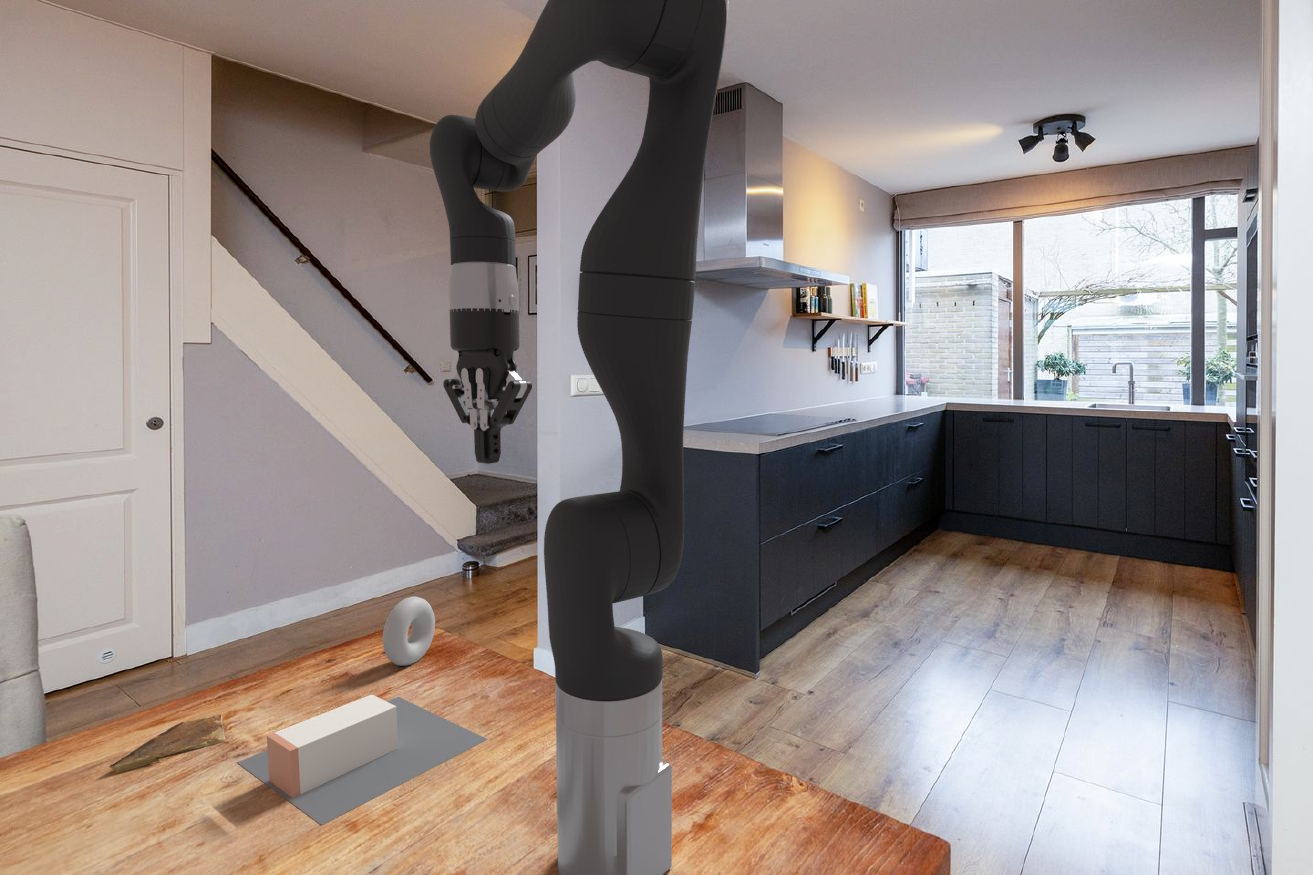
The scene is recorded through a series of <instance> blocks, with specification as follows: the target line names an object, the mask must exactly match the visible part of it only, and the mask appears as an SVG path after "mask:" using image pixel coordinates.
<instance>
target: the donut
mask: <svg viewBox="0 0 1313 875" xmlns="http://www.w3.org/2000/svg"><path fill="white" fill-rule="evenodd" d="M435 617H436V616H435V614H434V611H433V608H432V606H431V604H430V603H429V602H428V601H427V600H426V599H424V598H422V597H419V596H415V595H414V596H410V597H406V598H403V599H402V600H401V601H399V602H398V603H396V605H395V606H394V607H393V608H392V610H391V611H390V612H389V614H388V616H387V618H386V621H385V623H384V627H383V631H382V632H383V633H382V645H383V651H384V653H385V655H386V657H387V659H388V660H389V661H391V663H393V664H394V665H396V666H401V667H406V666H411V665H413V664H415V663H416V662H418V661H420V660H421V659H423V656H425V655H426V653H427V652H428V650H429V648H430V646H431V644H432V641H433V639H434V636H435V635H434V634H435V627H436V618H435ZM410 627H411V631H410V630H409V629H410ZM409 631H410V634H408V632H409ZM408 635H409V636H408Z"/></svg>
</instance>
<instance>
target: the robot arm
mask: <svg viewBox="0 0 1313 875" xmlns="http://www.w3.org/2000/svg"><path fill="white" fill-rule="evenodd" d="M728 20H729V0H547V2H546V3H545V6H544V8H543V10H542V11H541V13H540V15H539V18H538V19H537V21H536V23H535V26H534V27H533V30H532V32H531V34H530V36H529V37H528V40H527V42H526V44H525V45H524V47H523V49H522V51H521V53H520V54H519V56H518V57H517V59H516V61H515V62H514V64H513V65H512V67H511V68H510V69H509V70H508V71H507V73H506V74H505V75H504V76H503V77H502V78H501V79H500V80H499V81H498V82H497V83H496V85H495V86H494V87H493V88H492V89H491V90H490V91H489V92H488V93H487V95H486V96H485V97H484V98H483V99H482V101H481V102H480V104H479V106H478V107H477V109H476V113H475V118H473V117H469V116H465V115H458V114H448V115H445V116H443V117H441V118H440V119H439V120H438V121H437V122H436V123H435V125H434V127H433V129H432V132H431V136H430V140H429V154H430V155H429V157H430V161H431V165H432V168H433V172H434V175H435V179H436V182H437V185H438V188H439V190H440V195H441V198H442V202H443V205H444V208H445V214H446V217H447V223H448V228H449V229H448V230H449V243H450V245H449V250H450V253H449V254H450V272H449V273H450V274H449V280H448V281H449V282H448V299H449V302H448V303H449V307H448V308H449V335H450V336H449V339H450V342H449V343H450V348H451V349H452V350H453V351H456V352H458V357H457V362H456V367H455V368H456V369H455V370H456V373H455V375H454V376H453V377H452V378H450V379H449V378H445V379H444V380H443V388H444V390H445V392H446V394H447V396H448V398H449V401H450V402H451V404H452V406H453V408H454V410H455V412H456V414H457V416H458V418H459V420H460V421H461V423H462V424H467V425H469V426H470V428H471V429H472V430H473V438H474V441H473V442H474V444H473V445H474V455H475V461H476V462H477V463H478V464H486V465H488V464H489V465H490V464H497V463H498V462H499V461H500V458H501V456H502V455H501V454H502V449H501V448H502V446H501V440H502V439H501V431H502V429H503V428H504V427H506V426H507V425H509V426H510V425H513V424H514V423H515V420H516V419H517V418H518V416H519V413H520V411H521V410H522V408H523V406H524V404H525V402H526V401H527V399H528V396H529V395H530V393H531V391H532V388H533V384H532V382H531V380H524V379H522V377H520V375H519V374H518V373H517V368H518V367H517V363H516V361H515V357H514V352H516V351H518V350H519V349H520V346H521V344H520V343H521V342H520V305H519V303H520V302H519V300H520V299H519V298H520V297H519V295H520V294H519V283H518V277H517V276H518V275H517V267H516V266H517V265H516V264H517V262H516V261H517V260H516V258H517V256H516V254H517V253H516V229H515V227H516V226H515V222H514V220H513V218H512V217H511V216H510V215H509V214H507V213H505V212H503V211H501V210H499V209H495V208H493V207H492V206H489V205H487V204H485V203H484V202H482V201H481V199H480V197H479V196H478V194H477V192H476V190H475V189H480V190H487V191H491V192H492V191H494V192H503V193H504V192H505V193H506V192H511V191H512V192H513V191H516V190H517V189H520V188H521V187H523V185H524V184H525V183H526V181H527V180H528V176H529V174H530V172H531V169H532V166H533V164H534V162H535V161H536V158H537V155H538V154H539V153H541V152H542V151H543V150H544V149H545V148H547V147H548V146H549V145H550V144H552V143H553V142H554V141H555V140H556V139H558V138H559V137H560V136H561V135H562V134H563V132H564V131H565V130H566V129H567V128H568V126H569V124H570V122H571V120H572V118H573V115H574V112H575V108H576V103H577V102H576V99H577V91H576V90H577V89H576V88H577V87H576V81H575V73H574V72H575V71H577V70H578V69H580V68H581V67H583V66H585V65H586V64H589V63H592V62H600V63H602V64H604V65H606V66H608V67H611V68H614V69H617V70H622V71H624V72H625V71H626V72H629V73H632V74H635V75H639V76H642V77H647V78H648V79H649V80H648V81H649V91H648V92H649V94H648V106H647V113H646V119H645V126H644V130H643V135H642V138H641V143H640V146H639V148H638V151H637V153H636V156H635V158H634V160H633V162H632V163H631V164H630V167H629V169H628V170H627V172H626V174H625V175H624V177H623V178H622V180H621V182H619V184H618V186H617V187H616V189H615V190H614V191H613V193H612V195H611V196H610V198H609V199H608V201H606V204H605V205H604V206H603V208H602V210H601V211H600V212H599V215H598V216H597V218H596V220H595V221H594V223H592V224H593V225H592V226H591V228H590V230H589V232H588V235H587V237H586V239H585V241H584V244H583V246H582V252H581V255H580V264H579V272H580V273H579V276H578V278H579V279H578V297H577V299H578V300H577V301H578V302H577V317H576V318H577V320H576V321H577V322H576V323H577V324H576V325H577V326H576V328H577V334H578V338H579V339H578V340H579V343H580V345H581V349H582V352H583V354H584V357H585V359H586V361H587V363H588V365H589V367H590V371H591V372H592V375H593V376H594V378H595V380H596V382H597V384H598V386H599V388H600V389H601V391H602V393H603V395H604V397H605V399H606V401H607V402H608V405H609V407H610V409H611V411H612V413H613V415H614V417H615V421H616V424H617V427H618V432H619V435H620V441H621V455H622V456H621V463H622V466H621V480H620V487H619V490H618V491H612V492H602V493H596V494H588V495H581V496H575V497H569V498H565V499H563V500H560V501H559V502H558V503H556V504H555V506H553V507H552V509H551V511H550V513H549V515H548V518H547V520H546V524H545V528H544V529H545V530H544V536H543V562H544V563H543V564H544V565H543V566H544V574H545V589H546V601H547V603H546V604H547V620H548V621H547V625H548V635H549V636H548V637H549V642H550V647H551V652H552V653H551V654H552V657H553V661H554V662H553V663H554V676H555V677H554V681H555V684H554V685H555V752H556V753H555V755H556V756H555V761H556V767H555V768H556V815H557V816H556V818H557V819H556V825H557V827H556V828H557V870H558V875H664V874H665V873H667V872H668V870H669V869H671V868H672V866H673V865H672V864H673V863H672V861H673V860H672V857H673V856H672V855H673V852H672V851H673V849H672V847H673V846H672V845H673V844H672V843H673V842H672V840H673V827H672V826H673V818H672V816H673V812H672V811H673V810H672V809H673V769H672V768H673V767H672V765H671V764H670V763H669V762H668V763H667V762H665V761H663V676H664V675H663V673H664V672H663V665H664V664H663V652H662V648H661V646H660V644H659V643H658V641H656V640H655V639H654V638H653V637H651V636H649V635H647V634H645V633H644V632H641V631H639V630H634V629H630V628H625V627H619V626H615V620H614V619H615V618H614V607H613V604H616V603H620V602H624V601H629V600H635V599H637V598H642V597H646V596H649V595H652V594H656V593H659V592H660V591H661V592H662V590H665V589H667V587H669V586H670V585H671V584H672V583H673V581H674V580H675V579H676V576H677V574H678V572H679V569H680V567H681V564H682V558H683V552H684V544H685V543H684V542H685V484H684V483H685V481H684V477H685V475H684V474H685V473H684V431H685V430H684V425H685V411H686V410H685V408H686V407H685V406H686V390H687V374H688V372H687V371H688V360H689V359H688V357H689V349H690V348H689V347H690V340H691V330H692V324H693V313H694V304H695V303H694V302H695V291H696V276H697V274H696V273H697V252H698V235H699V225H700V215H701V214H700V213H701V206H702V195H703V194H702V192H703V188H704V187H703V186H704V175H705V167H706V160H707V150H708V144H709V139H710V133H711V126H712V122H713V120H712V119H713V116H714V110H715V103H716V97H717V93H718V87H719V82H720V77H721V76H720V75H721V71H722V65H723V64H722V62H723V58H724V51H725V45H726V39H727V30H728Z"/></svg>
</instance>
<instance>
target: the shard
mask: <svg viewBox="0 0 1313 875" xmlns="http://www.w3.org/2000/svg"><path fill="white" fill-rule="evenodd" d="M225 741H226V737H225V728H224V725H223V715H222V713H218V714H213V715H210V716H206V717H202V718H197V719H192V720H188V721H182V722H181V721H180V722H179V723H177V724H174V726H171V727H170V728H168V729H166V730H165V731H164V732H161V733H160V734H158V735H156V736H154V737H153V738H151V739H149V740H148V741H146V742H144V743H143V744H142V745H140V746H138V747H137V748H136V749H134V750H133V751H131V752H130V753H129V754H127V755H126V756H124V757H122V758H121V759H119V760H117V761H115V762H114V763H113V764H110V765H109V766H108V768H109V769H113V770H114V774H118V773H123V772H127V771H130V770H133V769H136V768H137V769H138V768H140V767H143V766H146V765H149V764H154V763H157V762H160V760H159V759H158V758H162V757H167V756H171V755H174V754H177V753H178V754H179V753H183V752H187V751H192V750H196V749H201V748H204V747H208V746H211V745H216V744H220V743H222V742H223V743H224V742H225Z"/></svg>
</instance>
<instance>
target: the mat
mask: <svg viewBox="0 0 1313 875" xmlns="http://www.w3.org/2000/svg"><path fill="white" fill-rule="evenodd" d="M385 701H386V702H388V703H391V704H393V705H395V706H397V732H398V749H396V750H394V751H392V752H389V753H387V754H385V755H383V756H381V757H379V758H377V759H375V760H373V761H370V762H368V763H366V764H364V765H362V766H360V767H358V768H356V769H353V770H351V771H349V772H347V773H345V774H343V775H341V776H339V777H337V778H334V779H332V780H330V781H328V782H326V783H324V784H322V785H320V786H317V787H315V788H313V789H311V790H309V791H307V792H305V793H303V794H300V795H298V796H296V797H294V798H292V797H290V796H289V795H288V794H286V793H285V792H284V791H282V790H281V789H279V788H278V787H277V786H275V785H274V784H273V783H271V782H270V781H269V768H268V751H267V749H266V750H265V751H262V752H259V753H256V754H253V755H252V756H250V757H247V758H245V759H242V760H239V761H237V762H236V763H237V764H238V765H239V766H240V767H242V768H244V769H245V770H246V771H247V772H249V773H250V774H251V775H253V776H254V777H255V778H257V779H258V780H260V782H262V783H264V784H265V785H266V786H267V787H269V788H270V789H271V790H272V791H274V792H276V793H277V794H278V795H280V797H282V798H284V799H285V800H286V801H288V802H289V803H291V804H292V805H294V807H296V808H298V809H299V810H300V811H301V812H302V813H304V814H305V815H306V816H308V817H310V818H311V819H312V820H314V821H315V822H316V823H318V824H319V826H323V825H325V824H327V823H329V822H331V821H334V820H335V819H337V818H339V817H341V816H343V815H345V814H347V813H349V812H351V811H352V810H355V809H356V808H359V807H360V806H362V805H365V804H366V803H368V802H370V801H372V800H374V799H376V798H378V797H379V796H381V795H383V794H385V793H388V792H389V791H392V790H393V789H395V788H397V787H400V786H401V785H403V784H404V783H406V782H408V781H411V780H413V779H414V778H416V777H418V776H421V775H422V774H424V773H427V772H428V771H430V770H432V769H434V768H436V767H437V766H439V765H442V764H444V763H446V762H447V761H449V760H451V759H453V758H455V757H457V756H459V755H461V754H463V753H465V752H467V751H468V750H471V749H472V748H474V747H476V746H478V745H480V744H482V743H484V742H486V741H488V739H489V738H487V737H484V736H482V735H480V734H478V733H475V732H474V731H472V730H469V729H467V728H466V727H463V726H462V725H461V726H460V725H458V724H456V723H455V722H452V721H450V720H448V719H446V718H444V717H442V716H440V715H438V714H436V713H434V712H432V711H430V710H427V709H425V708H423V707H421V706H419V705H417V704H414V703H413V702H411V701H408V700H406V699H404V698H402V697H400V696H396V697H394V698H392V699H388V700H385Z"/></svg>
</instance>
